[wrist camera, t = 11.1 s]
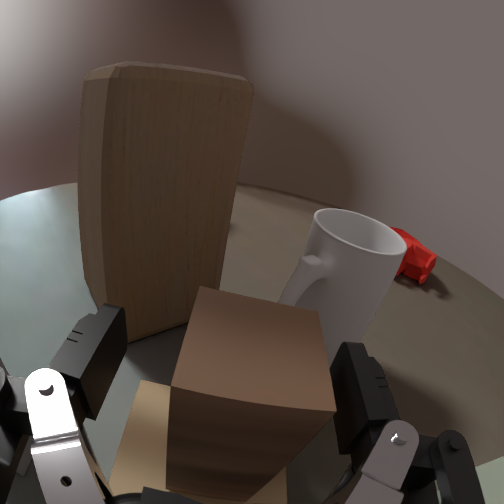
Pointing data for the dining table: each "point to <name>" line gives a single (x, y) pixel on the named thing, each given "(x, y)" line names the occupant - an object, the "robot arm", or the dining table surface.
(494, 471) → the sage post
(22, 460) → the grey post
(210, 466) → the walnut post
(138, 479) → the oak slab
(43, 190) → the dining table surface
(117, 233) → the wooden block
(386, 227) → the mug
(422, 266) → the animal figurine
